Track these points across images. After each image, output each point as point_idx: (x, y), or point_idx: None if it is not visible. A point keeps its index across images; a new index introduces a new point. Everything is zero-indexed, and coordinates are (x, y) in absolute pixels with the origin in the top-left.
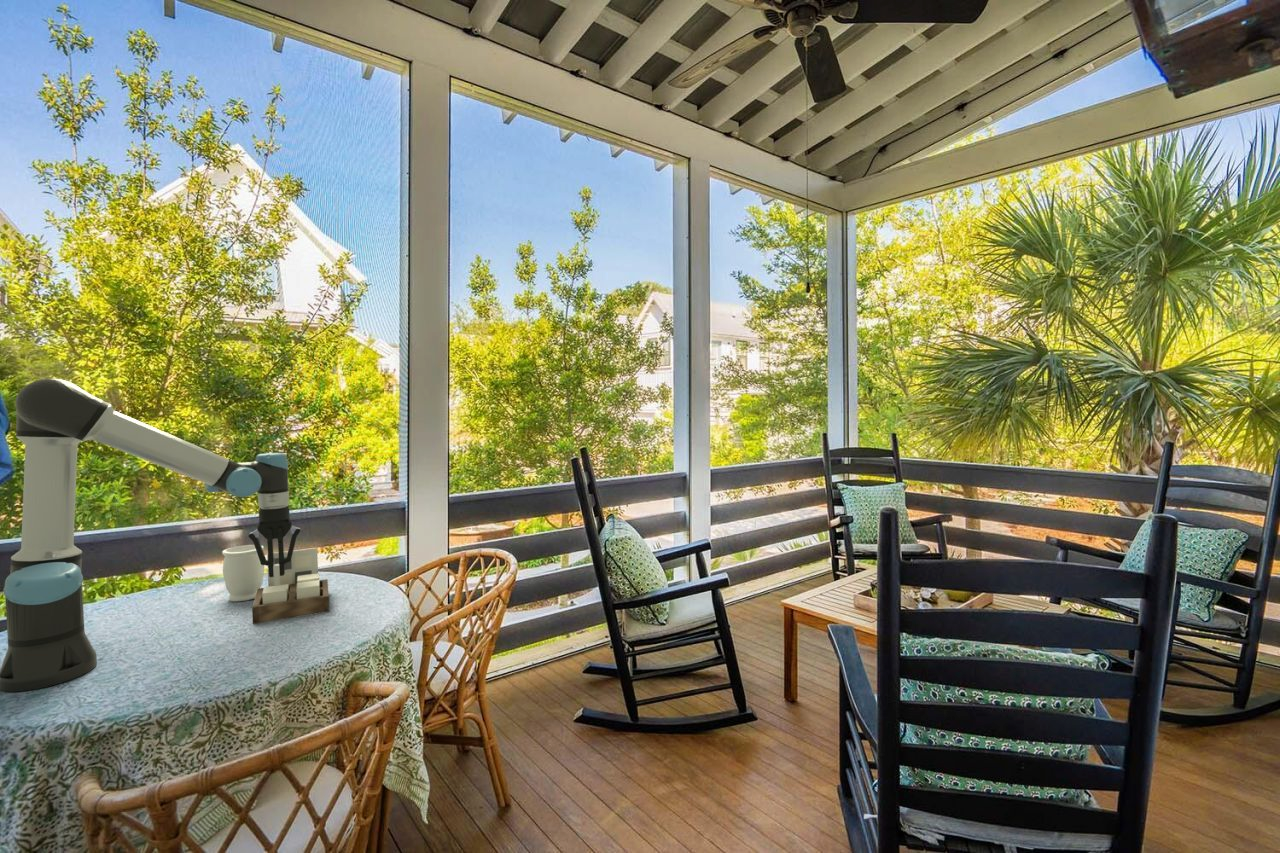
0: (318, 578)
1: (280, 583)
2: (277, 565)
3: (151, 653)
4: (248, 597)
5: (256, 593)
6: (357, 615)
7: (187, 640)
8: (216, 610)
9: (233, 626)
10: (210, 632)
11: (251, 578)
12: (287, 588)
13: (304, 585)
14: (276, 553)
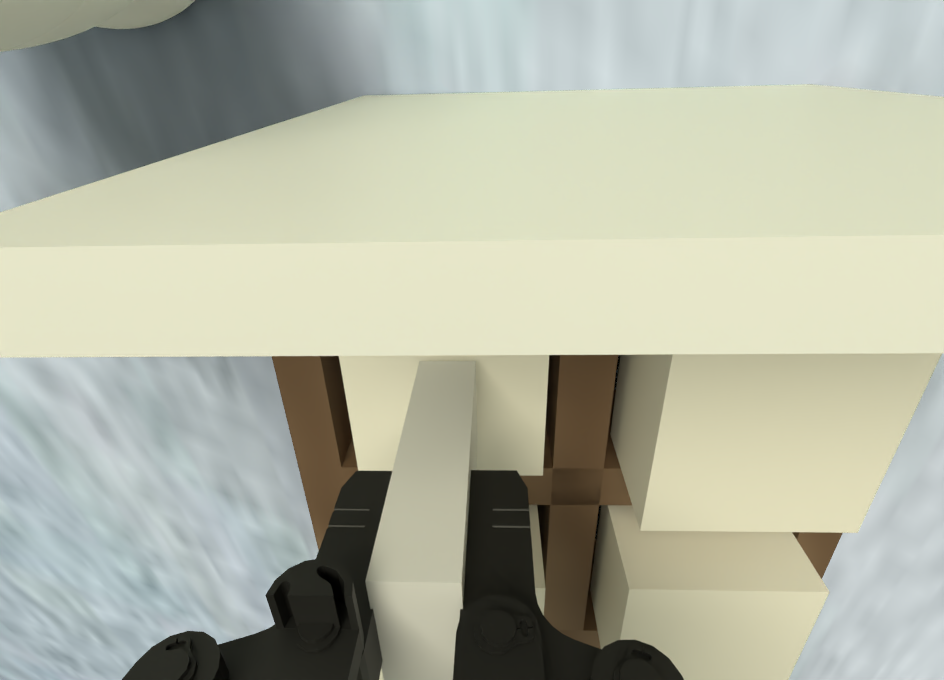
0: (846, 527)
1: (474, 382)
2: (438, 656)
3: (63, 662)
4: (150, 10)
5: (278, 381)
6: (838, 654)
7: (133, 610)
8: (8, 203)
9: (276, 547)
10: (192, 570)
11: (28, 32)
12: (540, 455)
13: (676, 661)
14: (283, 342)
